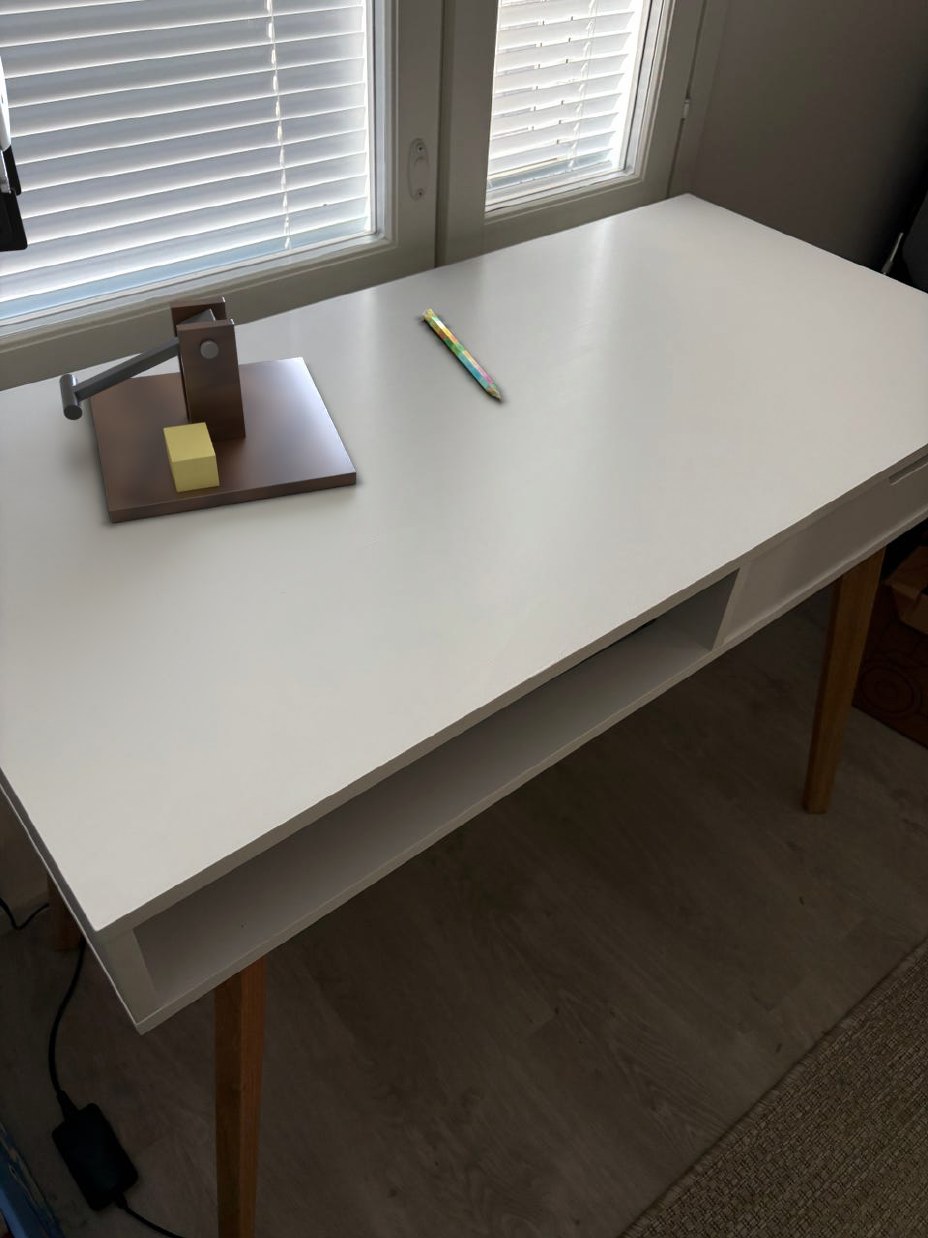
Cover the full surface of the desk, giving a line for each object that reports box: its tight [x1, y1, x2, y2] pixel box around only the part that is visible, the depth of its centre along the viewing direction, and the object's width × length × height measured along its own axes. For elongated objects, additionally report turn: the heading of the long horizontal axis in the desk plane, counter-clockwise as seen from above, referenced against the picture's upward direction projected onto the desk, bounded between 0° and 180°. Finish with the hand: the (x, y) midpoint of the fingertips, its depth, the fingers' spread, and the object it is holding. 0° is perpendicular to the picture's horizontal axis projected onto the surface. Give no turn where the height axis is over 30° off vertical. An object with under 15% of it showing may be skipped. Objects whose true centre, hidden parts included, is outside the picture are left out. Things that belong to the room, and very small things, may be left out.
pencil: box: [422, 309, 502, 400], centre depth 102 cm, size 1×1×18 cm
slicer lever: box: [58, 309, 217, 421], centre depth 83 cm, size 14×5×2 cm, turn 108°
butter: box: [163, 423, 219, 492], centre depth 83 cm, size 5×3×3 cm
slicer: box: [89, 296, 357, 524], centre depth 86 cm, size 20×20×12 cm
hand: (1, 221), depth 72 cm, fingers open, 9 cm apart
